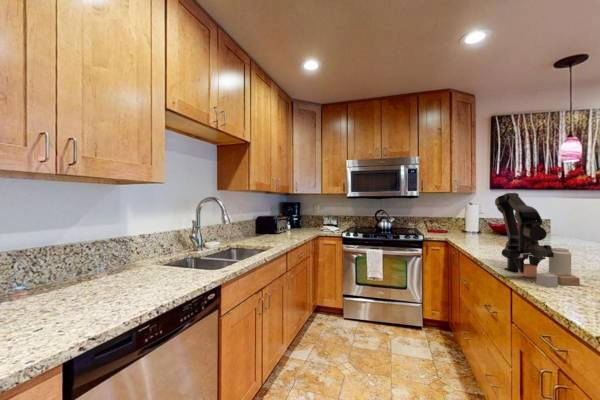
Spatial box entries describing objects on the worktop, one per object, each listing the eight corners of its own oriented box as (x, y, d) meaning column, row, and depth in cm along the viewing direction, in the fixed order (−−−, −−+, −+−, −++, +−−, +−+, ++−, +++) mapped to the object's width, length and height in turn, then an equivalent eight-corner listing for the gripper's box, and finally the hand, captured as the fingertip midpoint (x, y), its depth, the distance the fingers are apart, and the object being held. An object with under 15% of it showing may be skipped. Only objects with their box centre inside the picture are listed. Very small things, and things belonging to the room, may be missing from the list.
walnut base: (546, 281, 118) (546, 273, 118) (564, 281, 117) (564, 273, 117) (560, 286, 111) (560, 277, 111) (579, 286, 110) (579, 277, 110)
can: (551, 275, 125) (551, 249, 125) (546, 271, 131) (546, 246, 131) (574, 277, 121) (574, 250, 121) (567, 273, 128) (567, 247, 128)
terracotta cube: (518, 273, 124) (518, 263, 124) (528, 273, 124) (528, 263, 124) (526, 276, 120) (526, 266, 120) (536, 276, 120) (536, 266, 120)
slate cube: (536, 284, 113) (536, 273, 113) (545, 283, 114) (545, 272, 114) (548, 288, 109) (548, 276, 109) (557, 287, 109) (557, 275, 109)
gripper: (520, 240, 114) (520, 278, 114) (565, 239, 114) (566, 277, 114) (500, 236, 125) (501, 271, 125) (542, 236, 125) (542, 270, 125)
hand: (527, 272), depth 122 cm, fingers closed on terracotta cube, 4 cm apart
